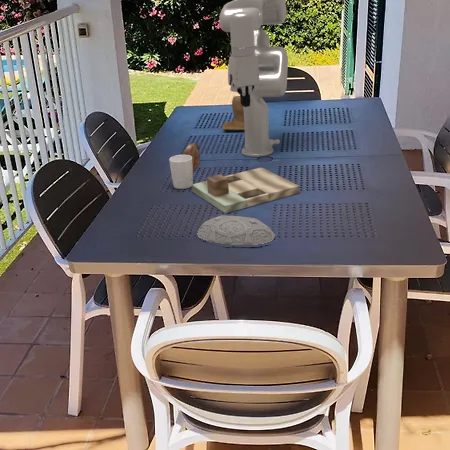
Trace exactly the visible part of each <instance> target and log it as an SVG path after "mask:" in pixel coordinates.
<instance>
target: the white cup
mask: <svg viewBox="0 0 450 450" xmlns="http://www.w3.org/2000/svg"><path fill="white" fill-rule="evenodd" d="M168 162H169V168H170V173H171V180H172V185H173V188H175V189H178V190H184V189H189V188H192V184H194V181H193V178H194V177H193V176H194V173H193V172H194V171H193V166H192V156H190V155H183V154H177V155H173V156H171V157H170V158H169V159H168Z"/></svg>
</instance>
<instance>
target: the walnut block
mask: <svg viewBox="0 0 450 450" xmlns="http://www.w3.org/2000/svg"><path fill="white" fill-rule="evenodd" d="M224 176H225V175H222V174H217V175H216V174H215V175H212V176H208V177H206V181H207V187H208V193H210V194H211V195H213V196H215V197H217V196H221V195H224V194H228V193H229V186H228V178H226V177H224Z"/></svg>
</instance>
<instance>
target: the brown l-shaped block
mask: <svg viewBox="0 0 450 450" xmlns="http://www.w3.org/2000/svg"><path fill="white" fill-rule="evenodd" d="M231 100H232V101H231V108H232V112H233V119H232V120H231V121H226V122H224V123H223V124H222V127H221V129H222V130H223V131H240V132H241V131H245V128H244V107H243V106H242V105H241V100H240V95H234V96H233V97H232V99H231Z"/></svg>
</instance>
